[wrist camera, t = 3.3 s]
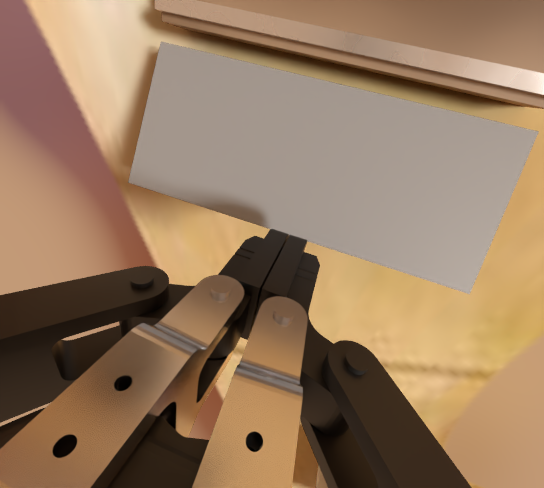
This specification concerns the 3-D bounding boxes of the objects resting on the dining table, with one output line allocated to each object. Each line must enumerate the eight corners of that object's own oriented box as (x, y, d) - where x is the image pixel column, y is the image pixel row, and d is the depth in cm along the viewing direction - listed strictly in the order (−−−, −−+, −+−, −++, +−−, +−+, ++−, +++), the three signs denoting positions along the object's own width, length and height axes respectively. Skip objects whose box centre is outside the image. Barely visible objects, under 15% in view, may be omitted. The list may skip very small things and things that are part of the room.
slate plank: (181, 65, 15) (161, 41, 13) (504, 145, 13) (538, 131, 11) (151, 187, 16) (127, 182, 14) (448, 283, 14) (469, 294, 12)
